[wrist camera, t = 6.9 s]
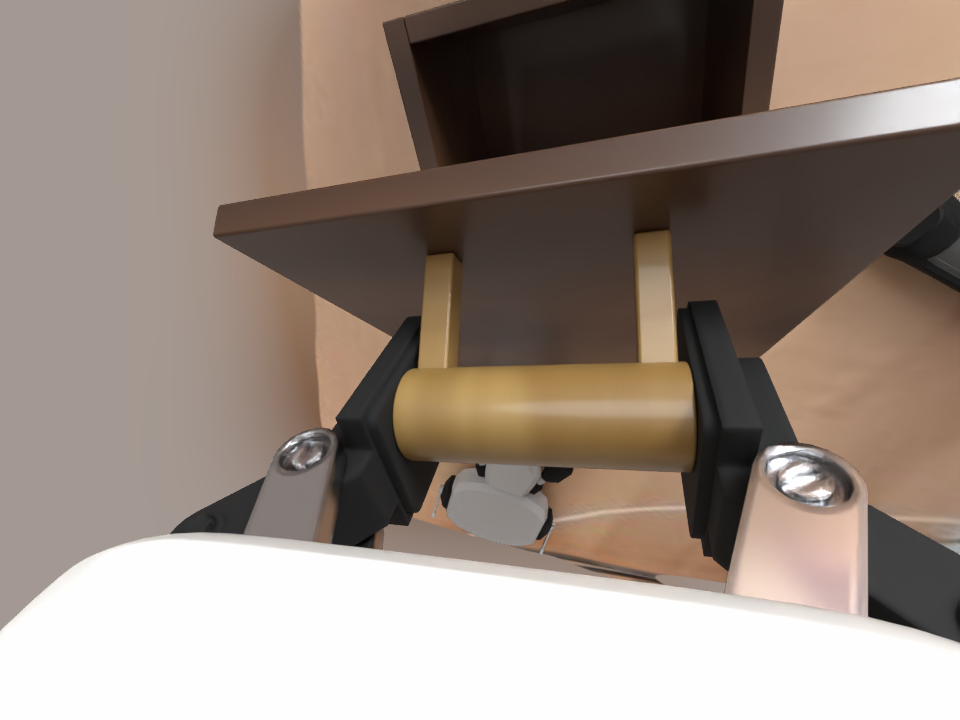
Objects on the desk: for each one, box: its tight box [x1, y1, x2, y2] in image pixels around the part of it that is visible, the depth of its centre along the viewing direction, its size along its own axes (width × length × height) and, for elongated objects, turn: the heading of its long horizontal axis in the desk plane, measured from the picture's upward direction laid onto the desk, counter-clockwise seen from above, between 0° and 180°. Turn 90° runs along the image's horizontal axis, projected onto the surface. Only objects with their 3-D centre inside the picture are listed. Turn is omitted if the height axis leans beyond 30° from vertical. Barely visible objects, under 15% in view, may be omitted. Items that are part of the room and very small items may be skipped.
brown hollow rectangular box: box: [383, 0, 784, 171], centre depth 24 cm, size 17×14×10 cm
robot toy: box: [432, 463, 573, 555], centre depth 45 cm, size 12×4×15 cm
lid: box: [213, 78, 960, 473], centre depth 15 cm, size 18×14×5 cm
